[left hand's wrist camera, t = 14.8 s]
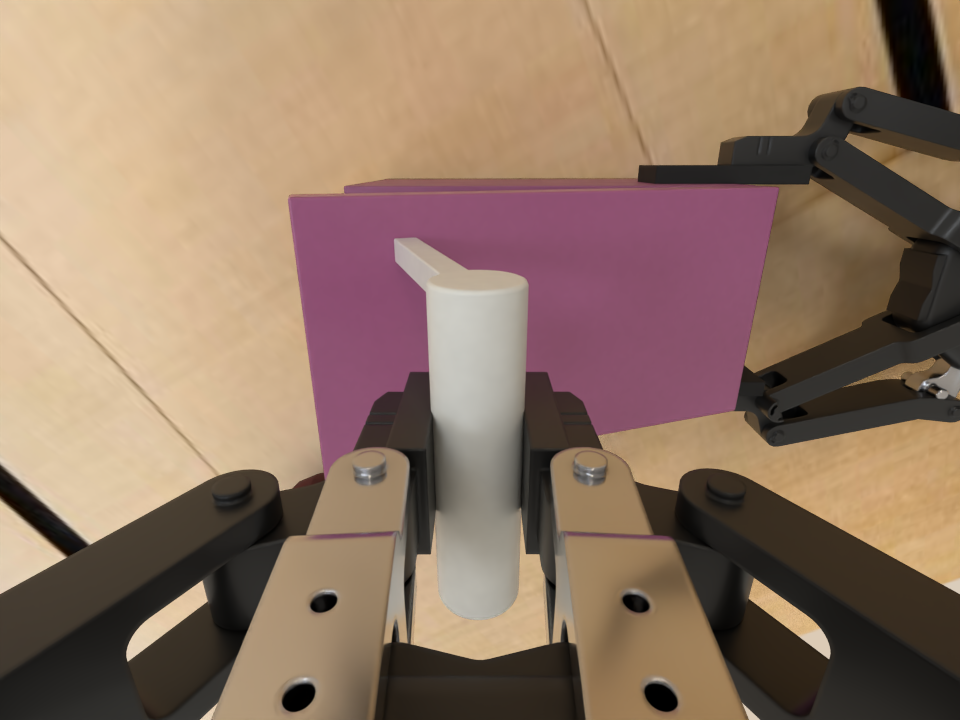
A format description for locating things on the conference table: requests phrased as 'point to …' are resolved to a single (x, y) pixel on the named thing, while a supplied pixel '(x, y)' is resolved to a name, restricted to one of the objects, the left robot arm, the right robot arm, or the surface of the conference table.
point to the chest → (506, 184)
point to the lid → (522, 330)
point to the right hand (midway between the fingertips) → (634, 283)
